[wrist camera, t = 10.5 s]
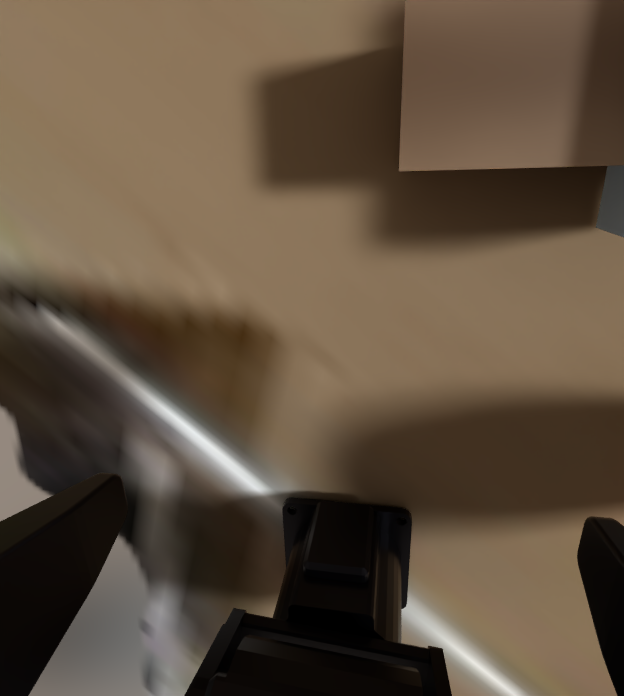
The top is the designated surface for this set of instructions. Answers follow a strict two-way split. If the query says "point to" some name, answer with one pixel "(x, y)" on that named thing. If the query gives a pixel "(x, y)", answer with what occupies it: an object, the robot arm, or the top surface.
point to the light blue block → (612, 202)
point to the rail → (512, 84)
